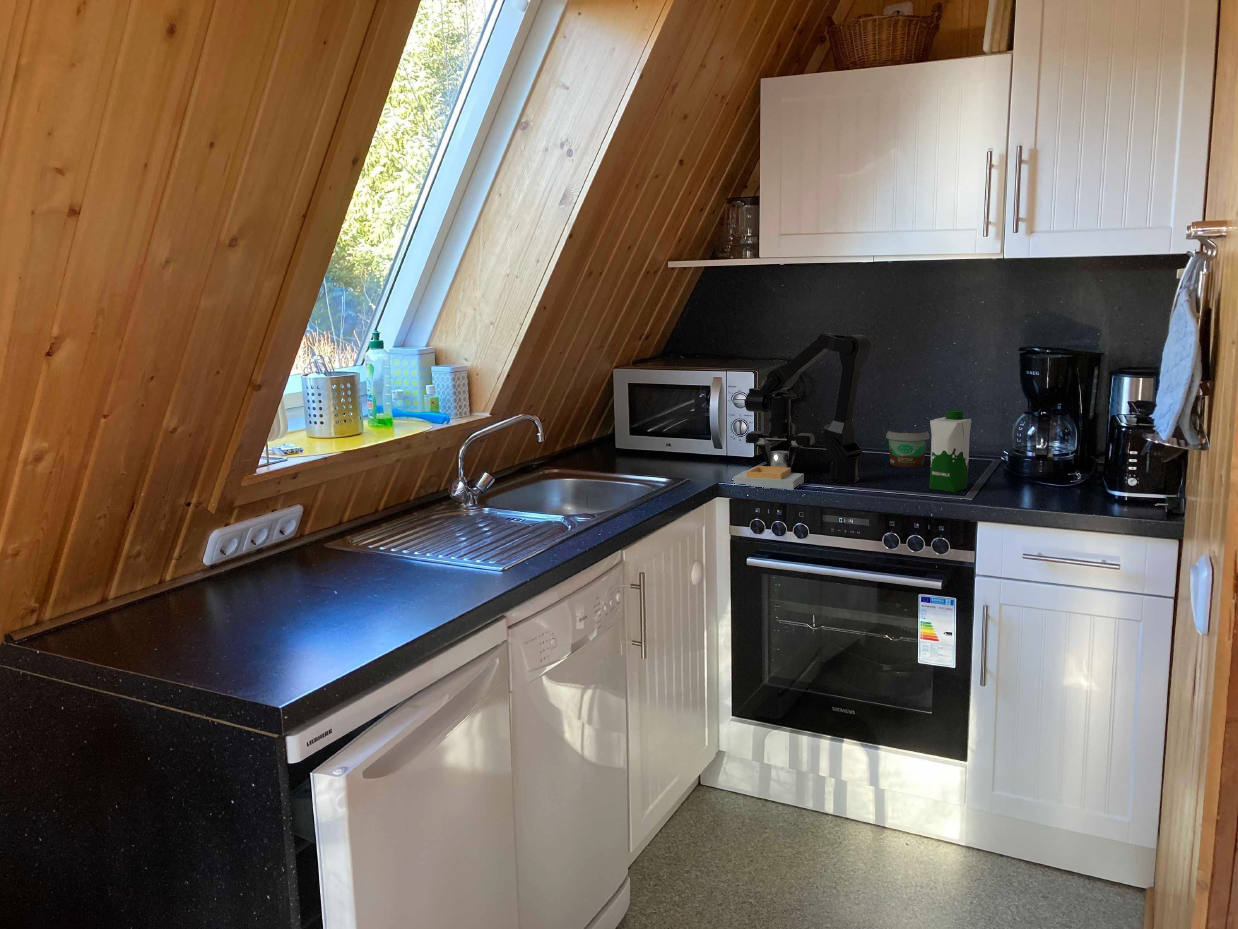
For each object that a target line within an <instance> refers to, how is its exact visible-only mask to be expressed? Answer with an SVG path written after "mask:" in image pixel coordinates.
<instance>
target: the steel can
mask: <svg viewBox="0 0 1238 929" xmlns="http://www.w3.org/2000/svg"><path fill="white" fill-rule="evenodd" d="M788 458H789V450H772V451H770V467H786V468H789V467H788Z"/></svg>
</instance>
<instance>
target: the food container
mask: <svg viewBox="0 0 1238 929" xmlns="http://www.w3.org/2000/svg"><path fill="white" fill-rule="evenodd" d="M885 438H886V439H888V448H889V460H890V465H891V466H894V467H899V468H919V467H923V466H924V464H925V457H926V451H927V442H928V440H929V439H930V433H929V431H928V430H927V431H925V432H917V433H916V432H909V431H908V432H896V431H895V432H894V431H890V430H888V431H887V432H886V436H885Z"/></svg>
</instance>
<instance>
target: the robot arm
mask: <svg viewBox="0 0 1238 929" xmlns="http://www.w3.org/2000/svg"><path fill="white" fill-rule="evenodd" d="M871 346H872V344H871V340H870V339H869V338H868V336H866V335H864V334H851V335H843V334H835V333H832V332H828V333H827V332H826V333H821V334H819V335H818V336H817V338H816V339H815V340H814V341H812V342H811V343H810V344H809V345H807V347H805V348H804V349H803V350H802V351H800V352H799V353H798V354H797V355H796V356H794V358H792V359H791V360H789V361H788V362H786V363H784V364H781V365H780V366H778V367H776V368H774V369H773V370H771V371H769V372H768V373H767V375H766V380H765V381H764V383H763V385H762V386H761V388H757V387H756V388H755V387H750V388H749V389H748V393H747V394H746V396H745V400H744V408H745V410H746V411H747V412H750V413H751V412H752V413H763V414H764V413H768V412H769V418H768V423H769V433H768V434H765V431H764V430H763V431H761V430H758V431H757V430H752V431H749V432H747V433H746V435H745V443H746V444H755V447H756V448H757V447H758V448H759V450H760V453H761V454H762V456H763V458H764V460H765V463H766V465H767V466H769V467H770V452H771V444H772V442H780V443H781V442H782V443H790V444H791V445H789V446H788V452H789V458H788V467H789V468H791V469H792V466H793V464H794V462H795V457H796V455H797V453H798V451H799V449H801V448H803V447H810V446H812V445H814V444H815V442H816V441H815V438H816V437H815V435H814V434H813V433H807V432H806V433H805V432H800V433H798V434H797V435H795V434H796V424H795V423H793V422H792V416H791V400H793V399H797V398H798V395H797V394H796V393H795V392H794V391H793V389H791V388H792V387H793V386H794V385H795V384H796V383H797V381H798V380H799V378H800V376H801V374H802V373H803V372H804V371H805V370H806V369H807V368H809V367H810V366H811V365H813V363H815V362H816V361H817V360H818V359H820V357H822V356H823V355H824V354H826V353H827V352H828V351H829V350H830V351H832V352H837V353H838V359H839V361H840V362H839V363H840V365H841V373H840V378H839V384H838V389H837V397H836V403H835V408H834V409H835V410H834V417H833V419H832V421H831V423H829V424H825V425H824V427H823V436H822V437H821V440H822V441H823V447H824V449H825V450H826V451H827V452H826V453H827V454H828V458H829V460H830V461H832V462H831V463H830V466H829V469H830V470H829V471H830V473H829V474H830V475H829V476H830V477H829V478H830V483H842V484H843V483H844V484H855V483H856V482H858V481H859V480H860V477H858V473H859V458H861V457H862V454H863V449H862V448H861V447H860V445H859V444H858V443H857V441H856V440H855V428H854V424H853V414H854V409H855V403H856V398H857V397H856V395H857V390H858V384H859V378H860V373H861V370H862V368H863V366H864V364H865V362H866V361H867V359H868V356H869V353H870V350H871ZM783 390H786V391H785V392H782V391H783ZM773 393H775V394H773Z"/></svg>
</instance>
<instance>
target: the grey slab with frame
mask: <svg viewBox="0 0 1238 929" xmlns="http://www.w3.org/2000/svg"><path fill="white" fill-rule="evenodd" d="M804 480H805V474H804V473H799V472H798V473H797V472H792V467H791V468H786V467H769V466H768V465H767V466H766V465H765V466H764V465H756V466H755V467H753V468H751V469H746V470H743V471H741V472H740V473H738V474H736V475H734V476H733V484H734V483H735V484H746V485H751V486H757V487H758V486H759V487H762V488H761V489H770V488H781V489H780V490H784V489H788V490H787V491H794V490H795V489H794V488H795V487H796V486H797V485H799V484H801V485H803V484H804V483H805V481H804ZM763 487H764V488H763ZM765 487H766V488H765ZM782 488H783V489H782ZM789 489H790V490H789Z"/></svg>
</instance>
